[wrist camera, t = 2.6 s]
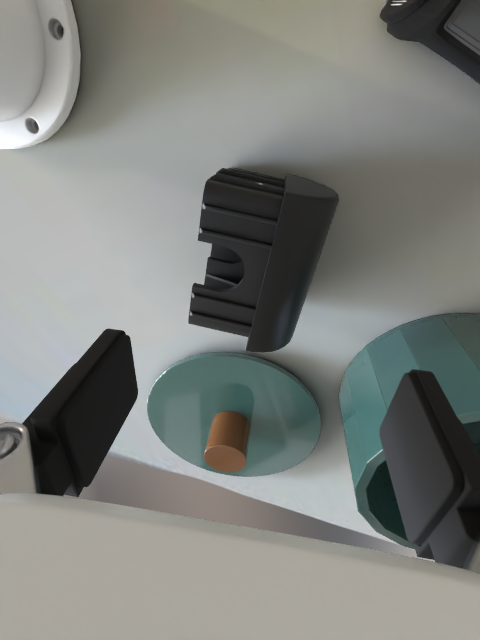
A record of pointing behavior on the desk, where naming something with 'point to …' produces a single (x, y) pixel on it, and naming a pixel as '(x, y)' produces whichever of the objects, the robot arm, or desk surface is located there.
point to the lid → (234, 414)
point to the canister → (378, 391)
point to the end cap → (259, 253)
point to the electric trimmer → (439, 28)
